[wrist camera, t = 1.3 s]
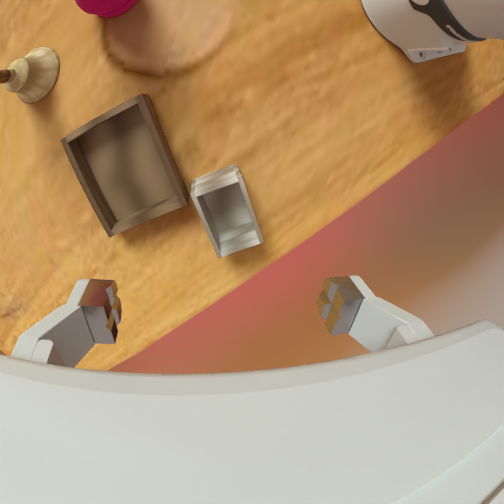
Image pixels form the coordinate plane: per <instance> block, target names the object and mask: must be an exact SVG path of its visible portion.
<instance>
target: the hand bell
mask: <svg viewBox="0 0 504 504" xmlns="http://www.w3.org/2000/svg"><path fill="white" fill-rule="evenodd" d="M58 72H59V59H58V56H57V54H56V52H55V51H54V50H53V49H51V48H49V47H39V48H36V49H34V50H32V51H31V52H29V53H28V54H27V55H26V56H25V57H24V58H21V59H17V60H15V61H14V62H12V63H11V64H10V66H9V67H8V68H7V70H0V83H4V85H5V87H6V89H7V90H8V91H9V92H16V94H17V96H18V97H19V98H20V99H21V100H22V101H24V102H27V103H33V102H37V101H39V100H41V99H42V98H43V97H45V96H46V95H47V94H48V93H49V92H50V90H51V89H52V87H53V86H54V84H55V82H56V79H57V76H58Z"/></svg>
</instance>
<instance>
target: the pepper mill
mask: <svg viewBox="0 0 504 504" xmlns="http://www.w3.org/2000/svg"><path fill="white" fill-rule="evenodd" d="M75 1H76V3H77V5H78V6H79V7H80V8H81V9H82V10H83V11H84V12H86V13H89V14H97V15H99V16H100V17H104V18H112V17H116V16H119V15H121V14H123V13H125V12H126V11H128V10H129V9H130V8H131V7H132V6H133V5H134V4H135V2H136V1H137V0H75Z"/></svg>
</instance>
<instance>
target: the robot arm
mask: <svg viewBox="0 0 504 504" xmlns="http://www.w3.org/2000/svg"><path fill="white" fill-rule="evenodd" d="M362 4H363V7H364V9H365V12H366V14H367V16H368V17H369V19H370V20H371V22H372V23H373V25H374V26H375V27H376V29H377V30H378V31H379V32H380V33H381V34H382V35H383V36H384V37H385V38H387V39H388V40H389V41H391V42H392V43H394V44H395V45H397V46H398V47H399V48H401V49H402V51H403V52H404V53H405V55H406V56H407V57H408V58H409V59H410V61H412V62H413V63H420V62H424V61H427V60H431V59H435V58H439V57H443V56H447V55H451V54H456V53H460V52H464V51H465V48H466V44H468V43H473V42H478V41H483V40H486V39H487V38H489V39H501V40H504V0H362ZM420 55H421V56H420ZM322 287H323V289H324V290H323V291H322V292H321V293H320V294H319V297H318V301H317V304H318V305H317V307H318V312H319V314H320V316H321V317H323V318H324V319H326V322H325V325H326V327H327V329H328V331H329V333H330V335H336V334H345V333H349V335H351V336H352V337H353V338H354V339H356V340H357V341H358V342H359V343H361V344H362V345H363V346H364V347H366V348H367V349H368V350H370V351H371V352H372V353H368V354H363V355H359V356H354V357H349V358H344V359H339V360H333V361H326V362H320V363H314V364H307V365H300V366H292V367H284V368H275V369H266V370H256V371H242V372H227V373H205V374H146V373H126V372H111V371H99V370H89V369H80V368H74V367H75V366H76V365H77V364H78V362H79V361H80V360H81V359H82V358H83V357H84V356H85V355H86V354H87V352H88V351H89V350H90V349H91V348H92V347H93V346H94V345H95V343H101V344H115V342H116V338H117V334H118V329H117V325H118V324H119V323H120V321H121V312H122V309H121V302H120V298H119V297H118V296H117V295H116V294H117V291H118V288H117V284H116V282H115V280H97V279H79V280H78V281H77V283H76V285H75V287H74V288H73V290H72V292H71V295H70V297H69V299H68V301H67V303H66V305H62V306H60V307H59V308H57V309H56V310H54V311H53V312H51V313H50V314H49V315H47V316H46V317H44V318H43V319H42V320H40V321H39V322H37V323H36V324H35V325H33V326H32V327H30V328H29V329H28V330H26V331H25V332H24V333H22V334H21V335H20V337H19V339H18V341H17V343H16V345H15V347H14V349H13V352H12V354H11V356H6V355H2V354H0V504H504V328H502V327H500V326H499V325H497V324H495V323H493V322H491V321H489V320H480V321H477V322H475V323H472V324H470V325H467V326H464V327H461V328H458V329H455V330H452V331H449V332H446V333H443V334H440V335H437V336H434V335H433V333H432V332H431V331H430V330H429V328H428V327H427V326H426V324H425V323H424V322H423V321H422V320H421V319H419V318H417V317H415V316H413V315H411V314H410V313H408V312H406V311H404V310H402V309H400V308H398V307H396V306H395V305H393V304H391V303H389V302H387V301H385V300H383V299H381V298H379V297H377V298H376V297H375V295H374V294H373V293H372V292H371V290H370V289H369V288H368V287H367V285H366V284H365V283H364V282H363V280H362V279H361V278H360V277H359V276H357V275H353V276H345V277H329V278H325V279H324V280H323V283H322Z"/></svg>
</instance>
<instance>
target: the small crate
mask: <svg viewBox="0 0 504 504" xmlns="http://www.w3.org/2000/svg"><path fill="white" fill-rule="evenodd" d="M190 195H191V197H192V200H193V202H194V204H195V207H196V209H197V211H198V213H199V216H200V218H201V220H202V223H203V225H204V227H205V229H206V232H207V234H208V236H209V238H210V241H211V243H212V245H213V247H214V250H215V252H216V254H217V256H218V258H220V257H223V256H226V255H229V254H232V253H235V252H237V251H240V250H243V249H246V248H249V247H252V246H255V245H258V244H260V243H263V242H264V241H263V238H262V235H261V232H260V229H259V226H258V223H257V220H256V217H255V214H254V211H253V208H252V205H251V202H250V199H249V196H248V193H247V190H246V188H245V185H244V182H243V179H242V176H241V174H240V171H239V169H238V167H237V165H236V164H234V165H231V166H228V167H225V168H222V169H220V170H217V171H214V172H211V173H209V174H206V175H203V176H201V177H198V178H195V179H193V180H192V187H191V194H190Z"/></svg>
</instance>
